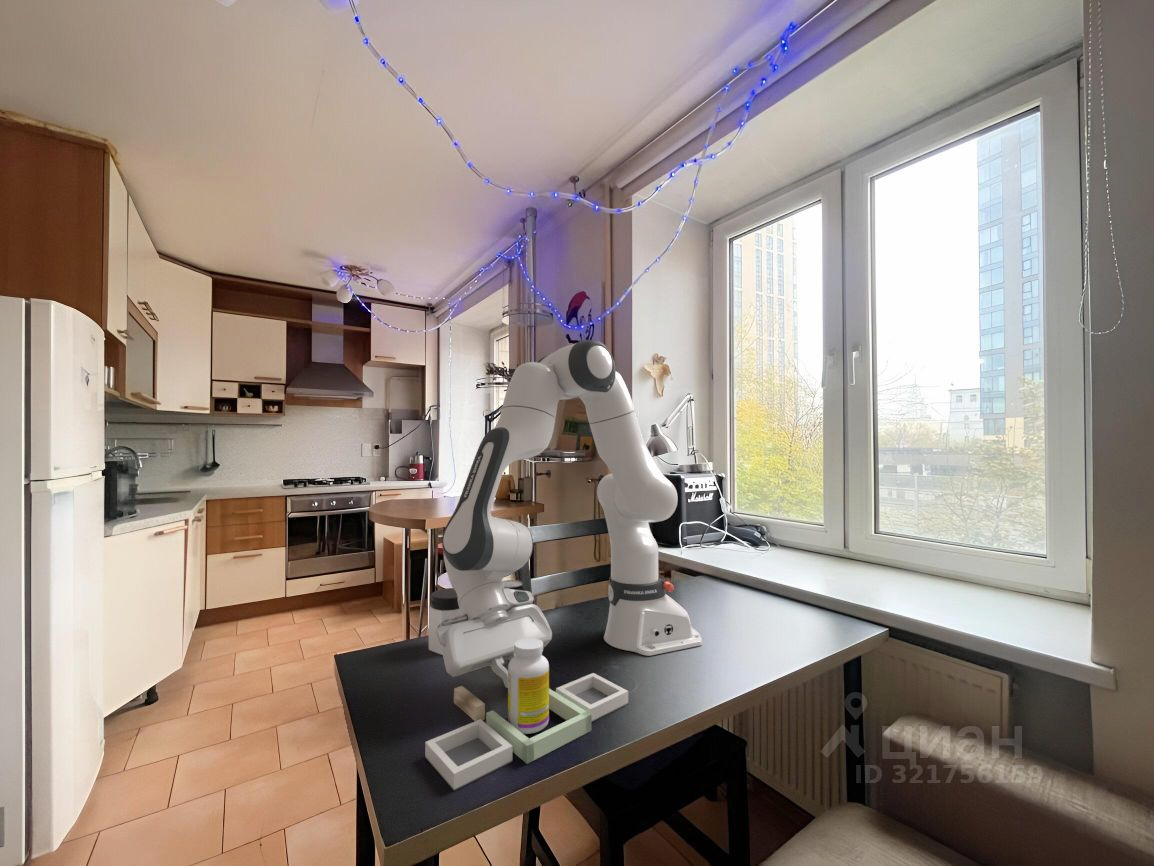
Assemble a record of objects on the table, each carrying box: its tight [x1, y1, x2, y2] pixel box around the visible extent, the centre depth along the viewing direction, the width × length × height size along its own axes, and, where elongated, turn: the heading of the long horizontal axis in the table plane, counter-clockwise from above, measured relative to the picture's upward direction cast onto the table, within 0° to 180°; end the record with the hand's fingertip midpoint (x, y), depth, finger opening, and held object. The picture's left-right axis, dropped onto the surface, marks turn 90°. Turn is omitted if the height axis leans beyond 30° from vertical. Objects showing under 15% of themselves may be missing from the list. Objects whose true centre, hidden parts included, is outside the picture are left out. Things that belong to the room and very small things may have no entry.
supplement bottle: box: [507, 638, 550, 735], centre depth 78 cm, size 7×7×13 cm
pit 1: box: [424, 719, 514, 792], centre depth 69 cm, size 9×9×2 cm
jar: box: [428, 587, 462, 656], centre depth 108 cm, size 9×8×12 cm
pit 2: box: [555, 672, 629, 723], centre depth 85 cm, size 9×9×2 cm
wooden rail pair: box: [453, 685, 486, 722], centre depth 86 cm, size 8×13×2 cm, turn 131°
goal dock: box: [485, 687, 593, 765], centre depth 77 cm, size 11×12×2 cm
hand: (515, 683), depth 81 cm, fingers closed, pressing on supplement bottle
